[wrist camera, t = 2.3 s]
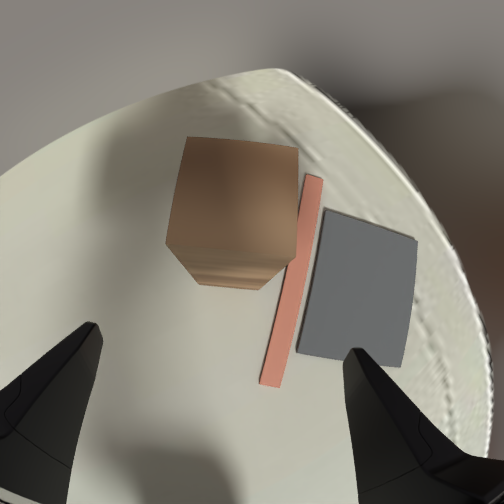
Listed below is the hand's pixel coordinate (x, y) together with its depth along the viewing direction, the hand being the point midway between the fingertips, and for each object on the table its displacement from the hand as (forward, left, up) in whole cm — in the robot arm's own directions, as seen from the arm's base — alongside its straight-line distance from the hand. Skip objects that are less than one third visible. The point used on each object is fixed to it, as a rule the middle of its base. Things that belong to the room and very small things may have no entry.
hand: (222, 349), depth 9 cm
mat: (-3, -12, -12) cm, 17 cm away
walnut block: (+5, -3, -12) cm, 13 cm away
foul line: (+1, -7, -12) cm, 14 cm away
